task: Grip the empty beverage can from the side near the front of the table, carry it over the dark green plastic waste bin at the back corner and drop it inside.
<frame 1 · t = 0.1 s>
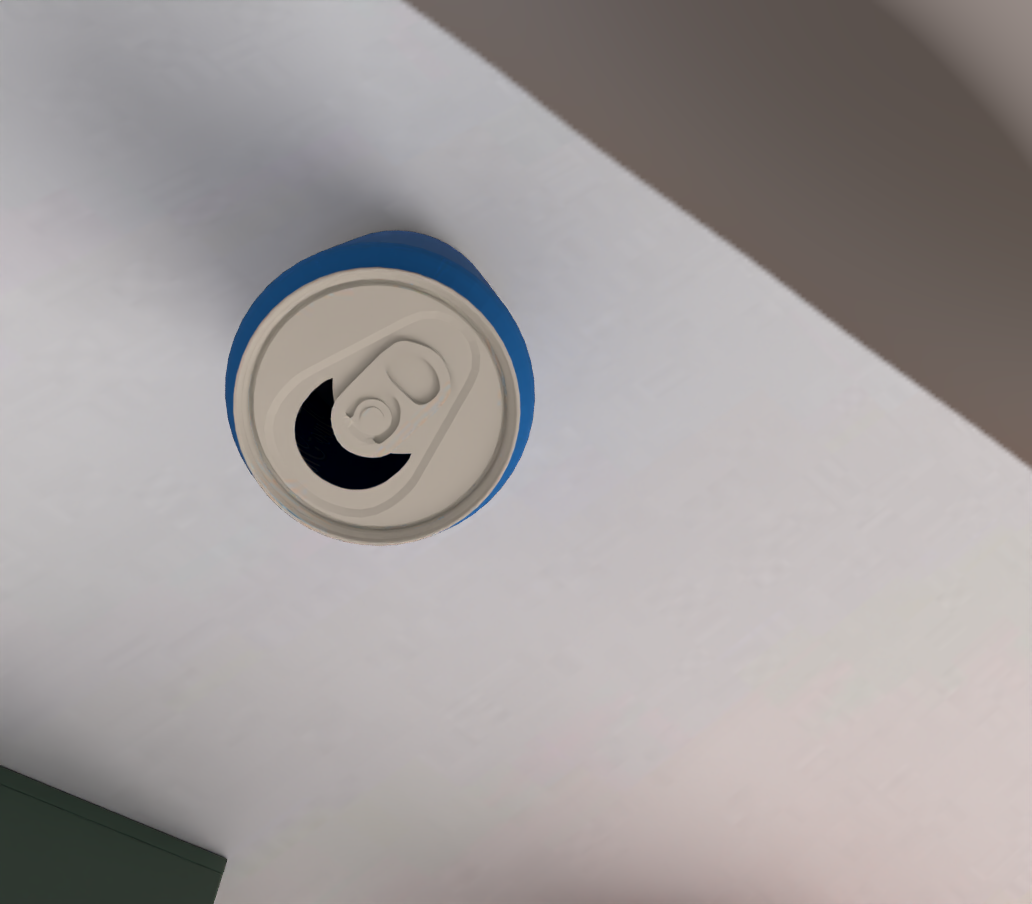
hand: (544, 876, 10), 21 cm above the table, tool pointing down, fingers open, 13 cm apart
beverage can: (400, 331, 29), on the table
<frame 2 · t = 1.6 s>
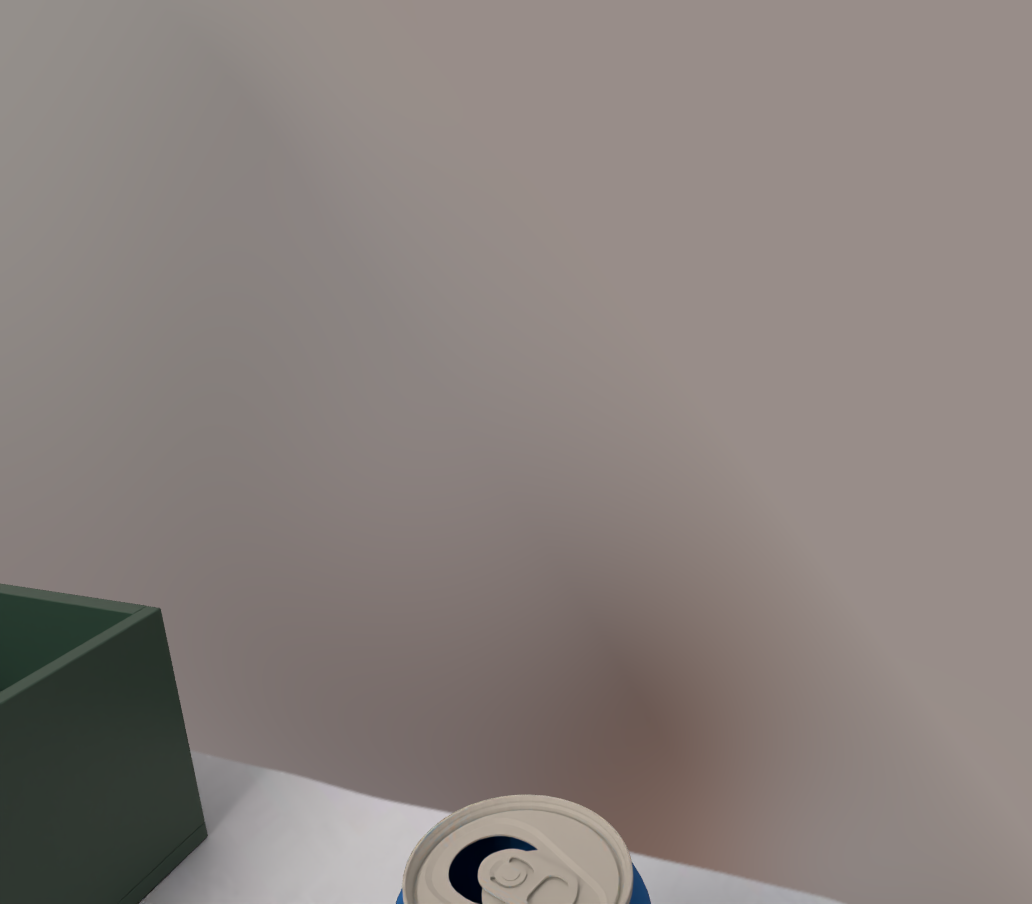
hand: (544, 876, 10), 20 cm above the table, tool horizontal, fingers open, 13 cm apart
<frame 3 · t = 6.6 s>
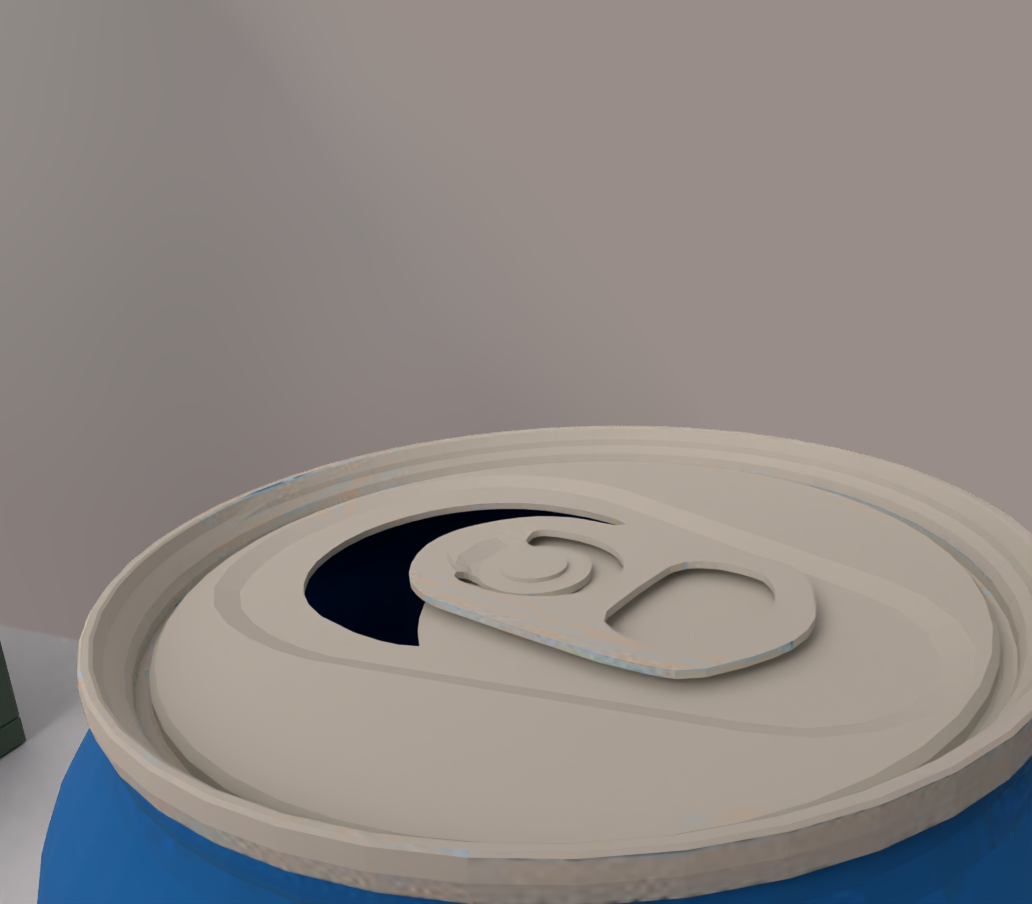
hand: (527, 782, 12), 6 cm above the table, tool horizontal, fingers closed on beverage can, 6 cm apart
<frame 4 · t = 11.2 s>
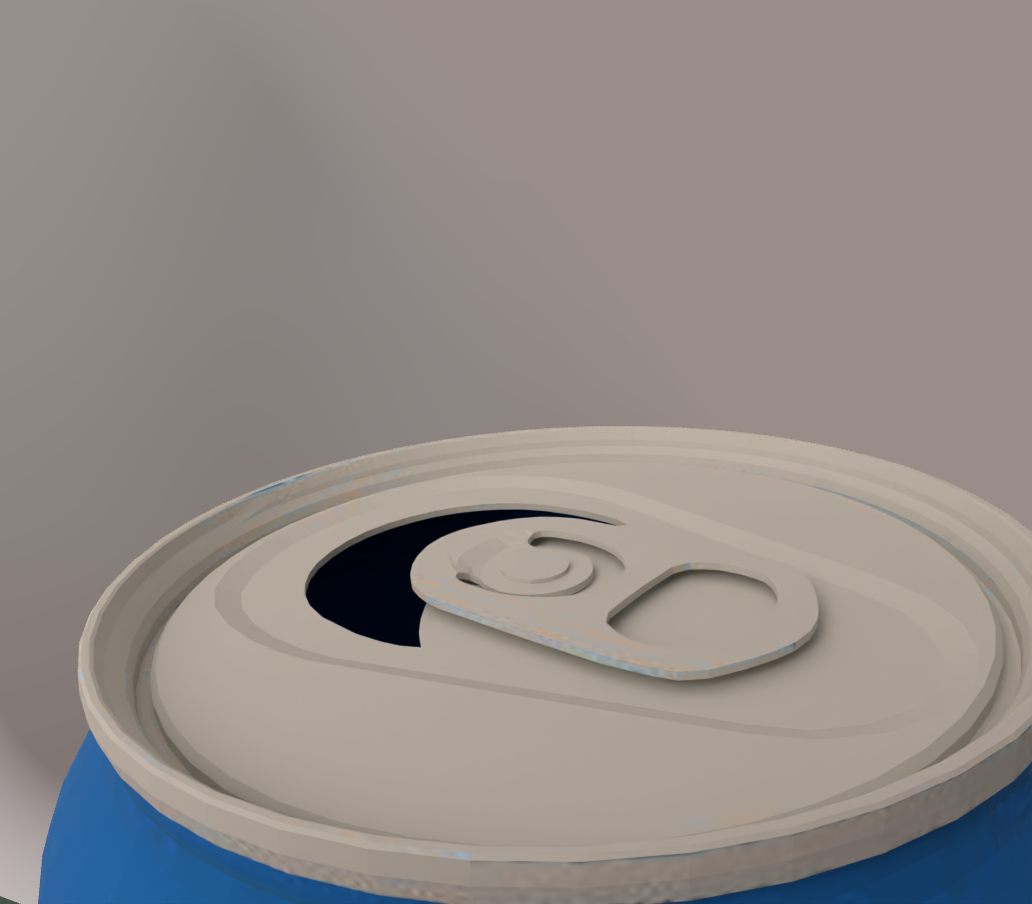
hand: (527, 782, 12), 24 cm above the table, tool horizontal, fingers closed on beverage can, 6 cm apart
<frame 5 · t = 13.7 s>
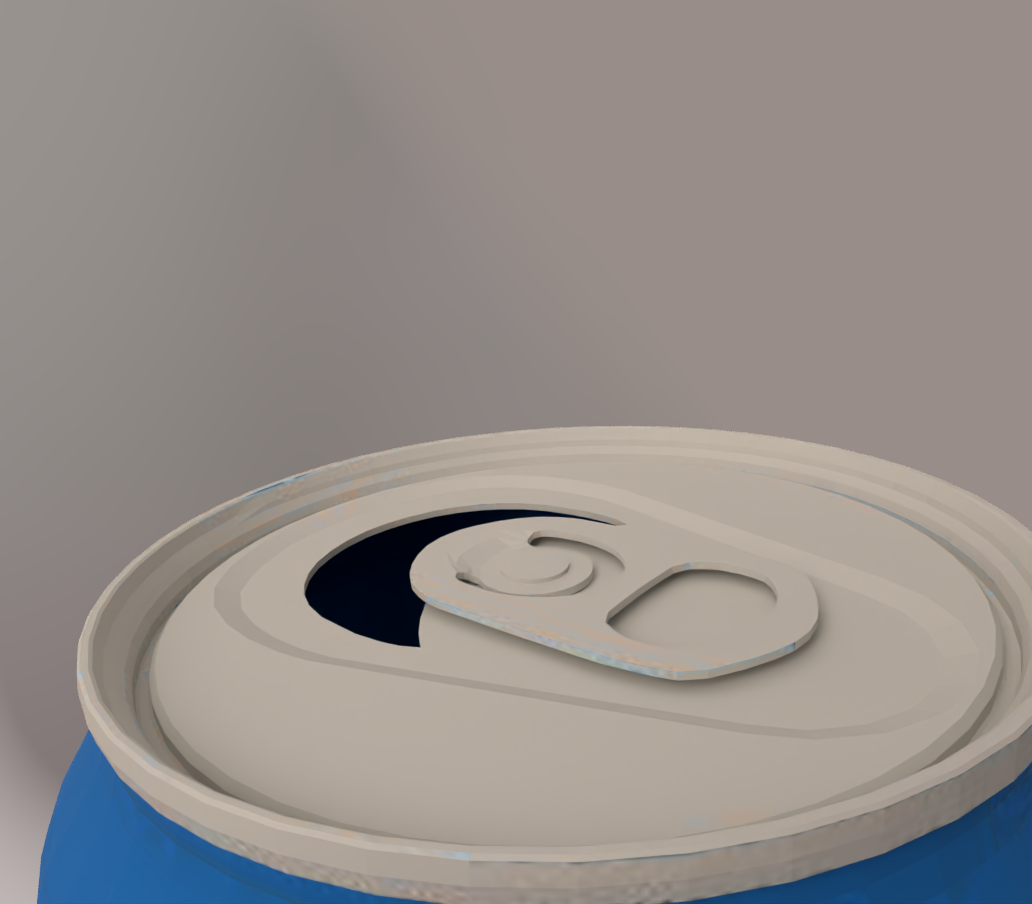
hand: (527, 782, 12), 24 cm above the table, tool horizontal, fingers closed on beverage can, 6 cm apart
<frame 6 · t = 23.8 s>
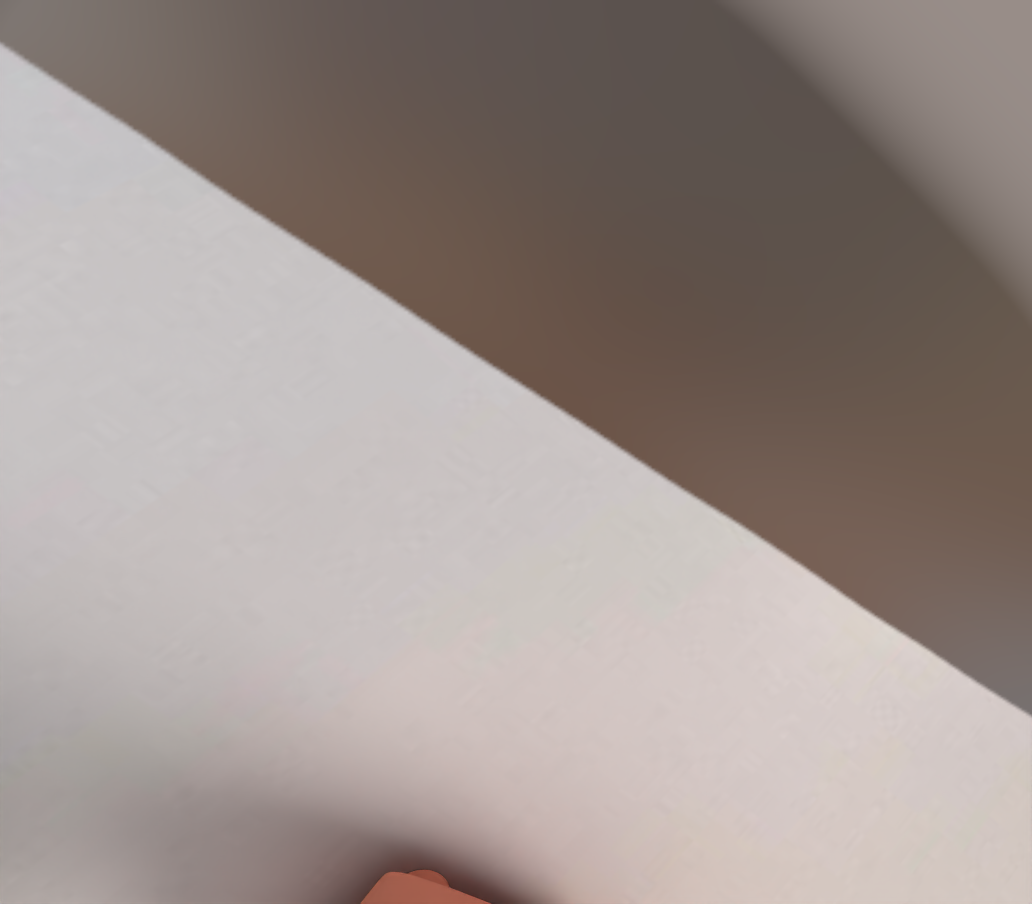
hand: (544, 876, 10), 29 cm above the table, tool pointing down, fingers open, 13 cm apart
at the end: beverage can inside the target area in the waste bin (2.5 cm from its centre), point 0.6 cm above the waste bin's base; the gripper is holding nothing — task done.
